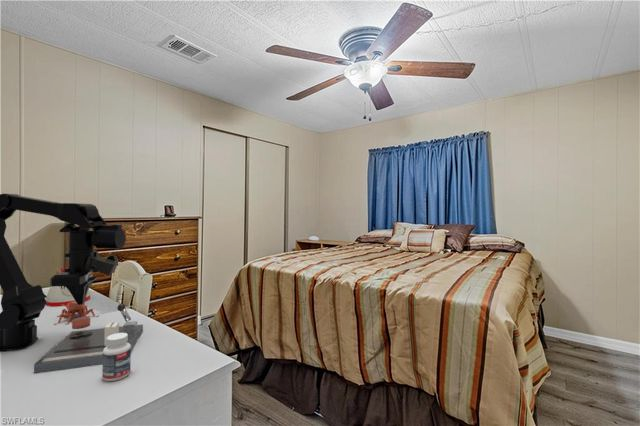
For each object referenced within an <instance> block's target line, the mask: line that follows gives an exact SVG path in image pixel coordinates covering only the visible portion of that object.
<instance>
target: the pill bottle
mask: <svg viewBox="0 0 640 426" xmlns="http://www.w3.org/2000/svg"><path fill="white" fill-rule="evenodd" d="M127 341H128V334H127V333H116V334H112V335H110V336H108V337H107V342H106V343H107V345H108V346H107V347H105V348H104V350H103V364H102V367H101V368H102V373H101V375H102V376H101V377H102V380H103V381H105V382H113V381H114V382H115V381H119V380H122V379H124V378H126V377H127V376H129V374H130V373H131V361H132V359H131V358H132V357H131V356H132V355H131V353H132V350H131V345H130V344H129V343H127Z"/></svg>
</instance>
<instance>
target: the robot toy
mask: <svg viewBox="0 0 640 426" xmlns="http://www.w3.org/2000/svg"><path fill="white" fill-rule="evenodd" d="M92 284H93V282H92V283H91V284H90V286H92ZM90 286H89V287H90ZM58 287H60V286H58ZM65 287H66V286H64V289H65ZM61 289H62V286H61ZM66 289H67V287H66ZM85 304H86V301H84V304H82V305H78V304H77V302H76V301H74V302H71V303H68V304H67V306H66V305H65V306H64V307H65V308H63V309H62V310H61V314H59V315H57V316H56V318H59V319H58V321H57V323H53V325H54V326H57V325H59V324H61V321H62V318H63V319H67V323H64V324H65V325H70V323H71V319H75V316H76V313H77V314H78V316H79V317H88V316H87V315H89V314H90V313H91V314H92V316H93V317H94V318H95V317H97V318H99V317H100V315H99V314H98V315H95V312H94V309H93V308H90V309H88V305H85Z"/></svg>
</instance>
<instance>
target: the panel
mask: <svg viewBox="0 0 640 426" xmlns="http://www.w3.org/2000/svg"><path fill="white" fill-rule="evenodd" d="M143 331H144V324H138V320H131V321H127V322H126V321H125V323H124V324H123V325H122V326H119V333H127V334H128V341H127V343H129V344H130V345H131V351H133V348H134V347H135V345H136V344H137V341H138V340H139V339H140V337H141V334H142V333H143ZM105 347H107V346H105V327H103V328H102V327H101V328H95V329H94V328H93V329H84V330H83V329H82V330H74V331H71V332H70V333H69V334H67V335H66V336H65V337H64V338H63V339H62V340H60V341H59V342H58V343H57V344H56V345H55V346H53V348H52V349H50V350H49V351H48V352H47V353H45V354H44V355H43V356H42V357H41V358H39V359H38V361H36V362H35V363H34V364H33V374H38V373H44V372H53V371H60V370H67V369H68V370H69V369H74V368H82V367H89V366H97V365H103V350H104V348H105ZM37 372H38V373H37Z"/></svg>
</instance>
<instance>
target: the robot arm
mask: <svg viewBox="0 0 640 426" xmlns="http://www.w3.org/2000/svg"><path fill="white" fill-rule="evenodd" d="M16 211H21V212H25V213H26V212H28V213H31V214H37V215H39V214H40V215H45V216H50V217H51V216H52V217H53V218H56V219H58V220H60V221H62V222H65V223H66V225H64V226H63V227H62V228H60V229H59V233H68V245H67V247H68V248H67V249H68V251H67V252H66V253H64V258H67V266H68V268H64V271H65V272H62V271H61V272H58V273H59V274H57V273H56V274H54V275H53V276H52V277H51V278H50V279H49V282H50V283H49V286H50V287H51V286H52V287H53V286H66V287H67V289H68V290H69V292H70V293H71V294H72V296H73V298H74V299H75V301H76V302H77V304H78V305H82V304H84V301H85V298H86V295H87V292H88V289H89V290H90V284H91V283H92V284H93V282H94V281H95V280H97V279H98V278H99V276H93V273H99V274H103V275H106V276H108V275H109V276H110V275H112V274H114V273H115V271H116V269H117V267H118V266H120V265H119V260H118V257H117V255H114V254H110V255H109V256H107V257H105V256H103V257H102V256H99V252H98V250H95V247H96V249H99V250H100V249H104V250H105V249H110V250H112V249H115V250H116V249H117V250H118V249H122V248H123V247H124V246H125V244H126V240H127V235H126V234H125V231H124V229H123V227H122V226H123V224H107V222H106V221H105V220H104V218H103V217H102V216H101V215H100V212H99V209H98V208H97V206H96V205H94V204H91V203H80V202H79V203H73V202H71V203H70V202H69V203H68V202H63V203H62V202H58V201H51V200H45V199H40V198H34V197H28V196H24V195H23V196H22V195H19V194H17V193H0V287H1V290H2V296H1V300H0V306H1V309H2V311H1V312H0V352H3V351H4V352H5V351H12V350H22V349H26V348H29V346H31V345H32V344H33V343H35V342H36V341H38V339H39V337H38V325H37V324H36V322H35V321H36V320H35V319H37V318H39V317H40V315H41V313H42V311H43V310H44V309H45V307H46V306H47V305H46V297H47V294H45V293H44V291H43V288H42V287H43V286H41V285H40V284H37V285H32V284H31V283H29V282H28V281H27V279H26V277H25V275H24V274H23V271H22V269H21V267H20V265H19V263H18V261H17V259H16V257H15V255H14V254H13V251H12V249H11V247H10V245H9V243H8V241H7V239H6V237H5V233H6V229H7V223H6V220H8V219H9V218H11V217H13V215H14V213H16ZM85 302H86V301H85Z"/></svg>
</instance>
